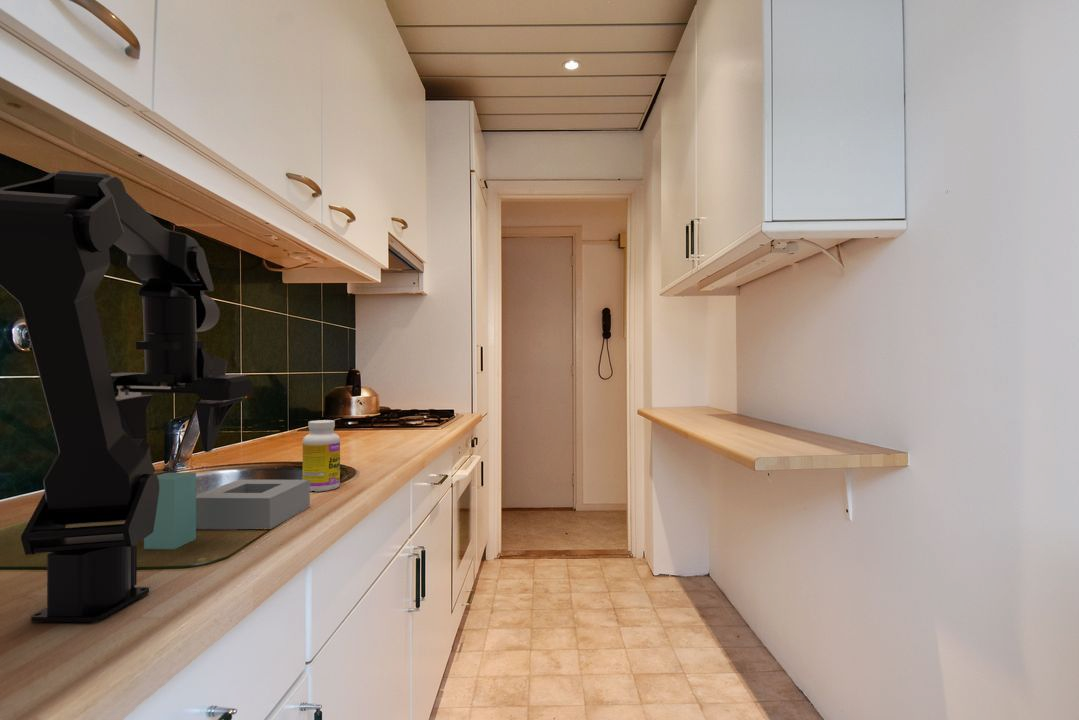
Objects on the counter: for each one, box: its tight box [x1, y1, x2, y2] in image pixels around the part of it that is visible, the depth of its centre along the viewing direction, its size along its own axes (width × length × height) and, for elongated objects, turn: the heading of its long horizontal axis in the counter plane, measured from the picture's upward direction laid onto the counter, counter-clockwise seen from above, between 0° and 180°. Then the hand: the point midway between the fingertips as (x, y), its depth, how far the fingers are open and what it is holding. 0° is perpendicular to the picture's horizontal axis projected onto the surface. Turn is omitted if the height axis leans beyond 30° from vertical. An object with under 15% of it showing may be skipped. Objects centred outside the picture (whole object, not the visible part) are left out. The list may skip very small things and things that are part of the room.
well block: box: [196, 479, 311, 531], centre depth 81 cm, size 12×12×4 cm
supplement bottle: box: [301, 419, 341, 493], centre depth 100 cm, size 7×7×13 cm
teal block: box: [143, 472, 197, 550], centre depth 69 cm, size 4×4×9 cm
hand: (174, 450), depth 70 cm, fingers open, 9 cm apart
